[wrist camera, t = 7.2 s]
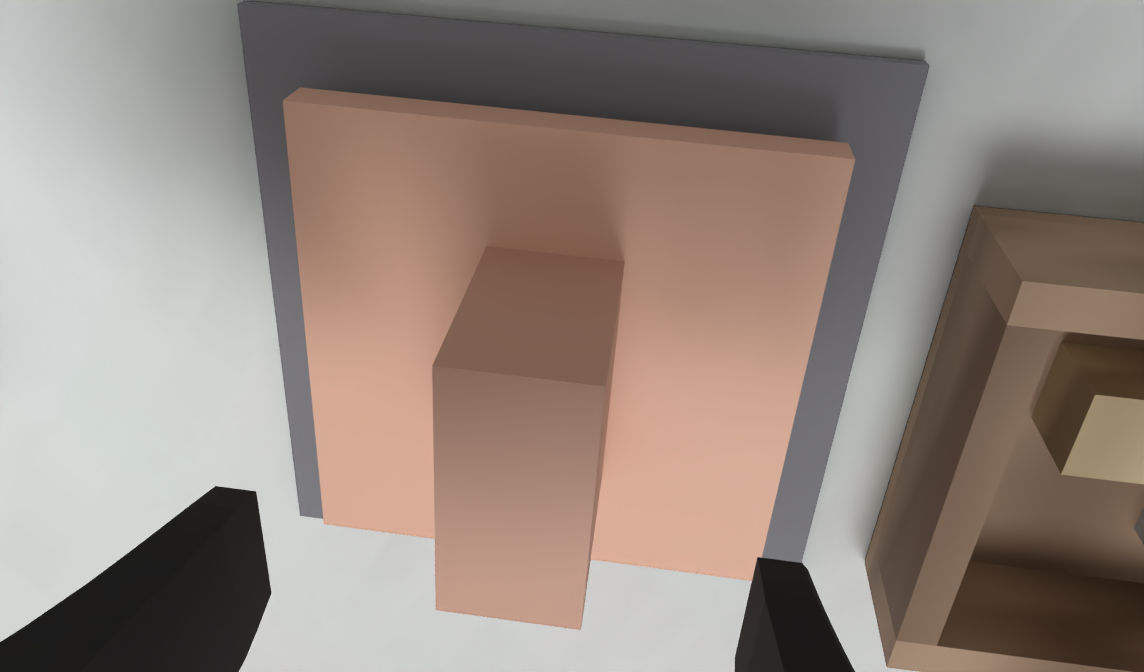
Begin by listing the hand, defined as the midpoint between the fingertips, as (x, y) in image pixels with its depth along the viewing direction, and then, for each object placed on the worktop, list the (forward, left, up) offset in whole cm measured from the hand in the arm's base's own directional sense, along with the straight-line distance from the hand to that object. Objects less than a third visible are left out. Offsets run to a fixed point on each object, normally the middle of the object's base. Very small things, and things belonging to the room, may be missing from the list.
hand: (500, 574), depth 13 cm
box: (-12, +1, -7) cm, 14 cm away
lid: (0, 0, -6) cm, 6 cm away
